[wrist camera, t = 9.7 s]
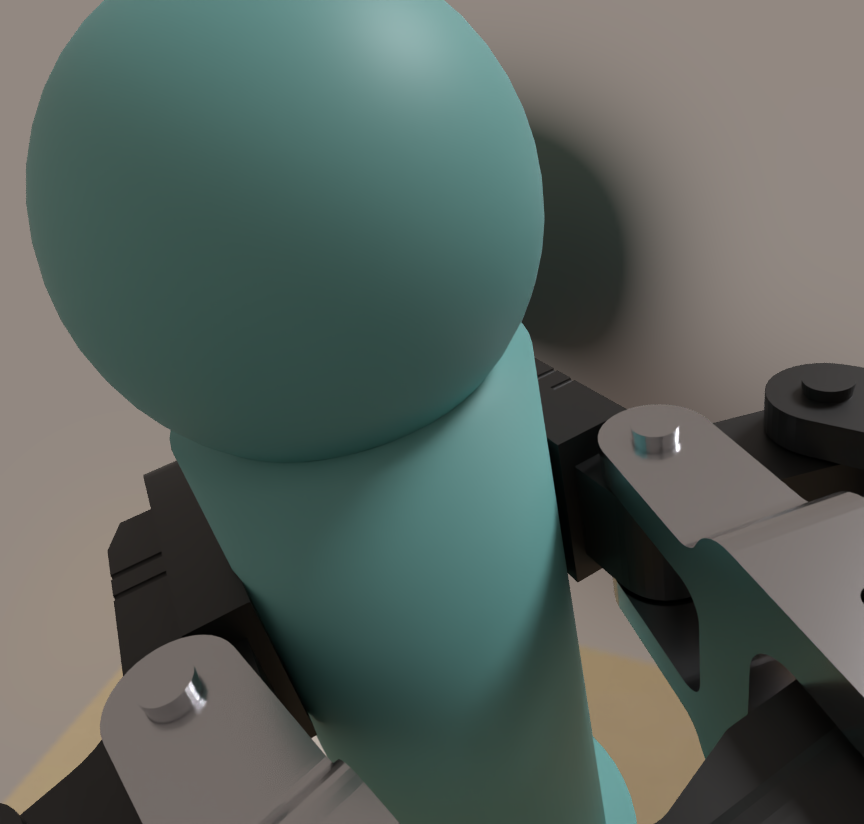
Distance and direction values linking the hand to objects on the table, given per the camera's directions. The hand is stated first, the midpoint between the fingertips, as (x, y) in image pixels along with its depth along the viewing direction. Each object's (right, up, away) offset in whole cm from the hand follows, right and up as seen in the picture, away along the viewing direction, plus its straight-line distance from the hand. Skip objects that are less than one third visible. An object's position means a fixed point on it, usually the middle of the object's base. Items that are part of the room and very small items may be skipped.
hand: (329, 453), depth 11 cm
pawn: (+3, -7, +2) cm, 8 cm away
